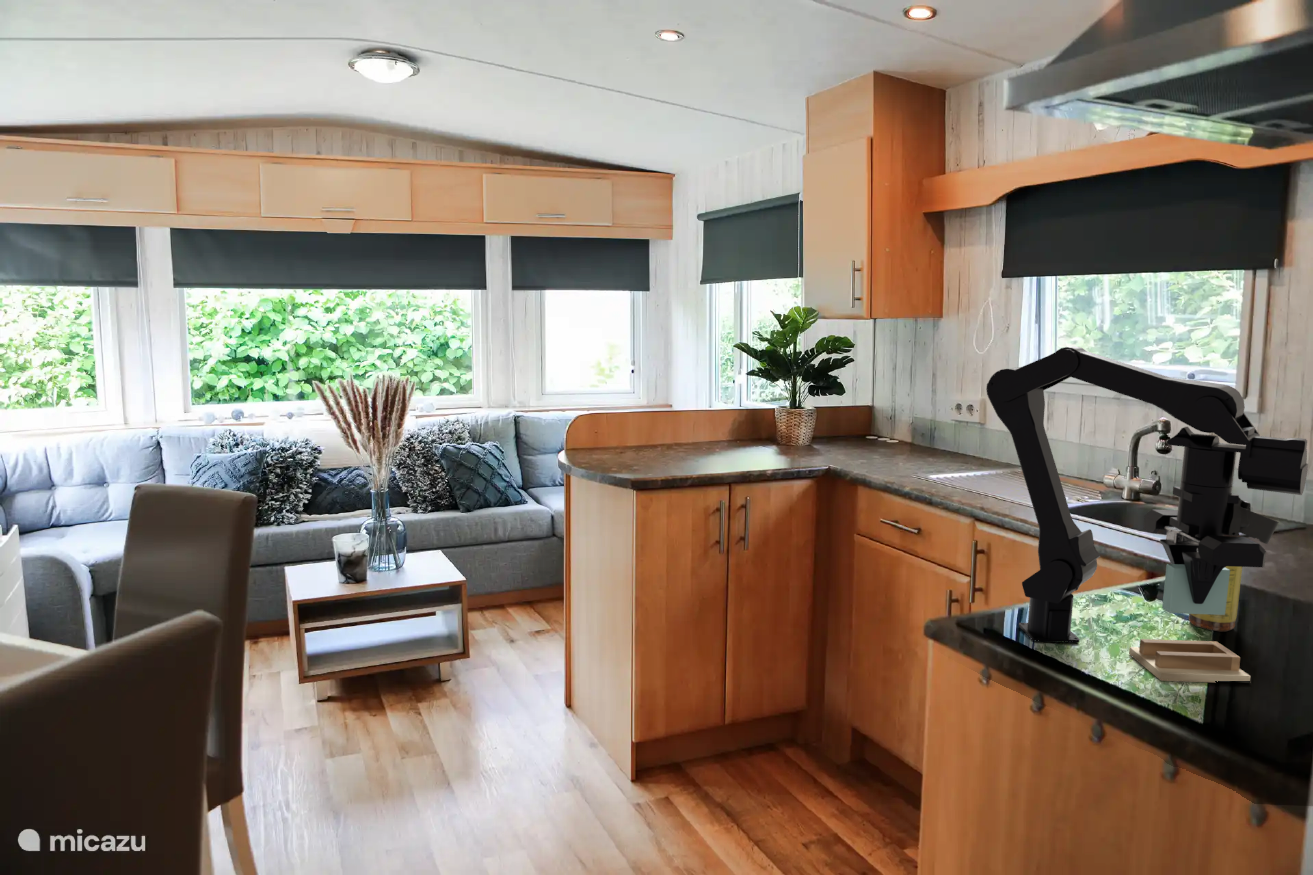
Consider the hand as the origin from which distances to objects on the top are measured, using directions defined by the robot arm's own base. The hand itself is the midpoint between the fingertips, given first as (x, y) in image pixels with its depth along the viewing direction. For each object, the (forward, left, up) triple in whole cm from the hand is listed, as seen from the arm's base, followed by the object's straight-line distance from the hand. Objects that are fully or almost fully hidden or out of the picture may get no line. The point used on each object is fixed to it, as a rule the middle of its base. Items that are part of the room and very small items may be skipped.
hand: (1193, 600), depth 122 cm
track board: (0, 0, -9) cm, 9 cm away
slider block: (0, 0, -2) cm, 2 cm away
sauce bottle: (-17, +12, -9) cm, 23 cm away
